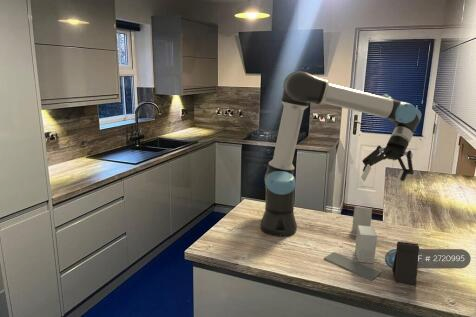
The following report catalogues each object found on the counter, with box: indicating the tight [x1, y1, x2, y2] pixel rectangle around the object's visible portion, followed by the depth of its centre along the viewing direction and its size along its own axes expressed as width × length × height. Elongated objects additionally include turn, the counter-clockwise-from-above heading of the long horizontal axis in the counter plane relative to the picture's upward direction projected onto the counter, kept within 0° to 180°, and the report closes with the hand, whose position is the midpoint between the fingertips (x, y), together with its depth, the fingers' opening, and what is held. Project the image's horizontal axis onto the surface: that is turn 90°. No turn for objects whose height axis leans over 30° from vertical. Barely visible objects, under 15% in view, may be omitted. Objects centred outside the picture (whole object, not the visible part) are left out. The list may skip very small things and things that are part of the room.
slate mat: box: [323, 251, 382, 282], centre depth 123 cm, size 18×6×1 cm, turn 43°
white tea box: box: [351, 205, 373, 232], centre depth 149 cm, size 4×7×10 cm, turn 64°
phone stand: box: [391, 241, 420, 287], centre depth 115 cm, size 9×6×12 cm, turn 163°
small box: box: [354, 225, 378, 264], centre depth 127 cm, size 8×6×10 cm
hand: (379, 182), depth 141 cm, fingers open, 13 cm apart
